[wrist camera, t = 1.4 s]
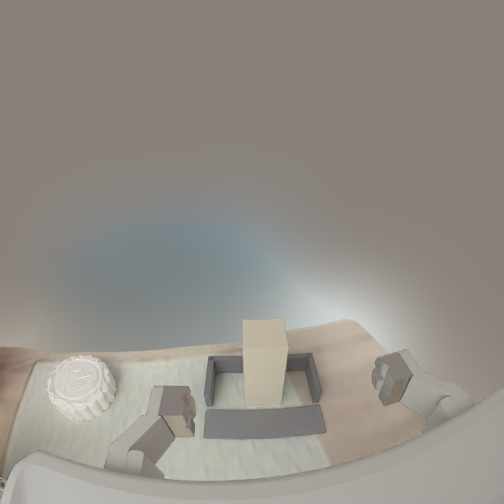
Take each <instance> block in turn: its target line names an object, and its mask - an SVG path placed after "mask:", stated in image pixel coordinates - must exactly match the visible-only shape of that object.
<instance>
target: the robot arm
mask: <svg viewBox="0 0 504 504" xmlns="http://www.w3.org/2000/svg"><path fill="white" fill-rule="evenodd" d="M375 365H376V367H375V369H374V370H373V372H372V383H373V386H374V388H375V389H376V390H378V391H380V393H379V398H380V400H381V402H382V404H383V406H387V405H390V404H393V403H396V402H399V401H400V403H402V404H403V405H404V406H406V407H407V408H409V409H410V410H412V411H413V412H415V413H416V414H418V415H419V416H421V417H422V418H424V419H425V420H427V421H426V423H425V424H424V426H423V427H422V429H421V432H422V435H419V436H417V437H415V438H413V439H411V440H408V441H406V442H404V443H401V444H399V445H396V446H394V447H391V448H389V449H386V450H383V451H380V452H378V453H375V454H372V455H369V456H366V457H363V458H359V459H356V460H353V461H349V462H346V463H342V464H338V465H335V466H331V467H326V468H322V469H318V470H313V471H308V472H303V473H297V474H291V475H285V476H278V477H270V478H261V479H250V480H233V481H188V480H172V479H164V474H163V473H162V472H161V471H160V470H159V469H158V468H157V467H156V466H155V464H156V463H157V461H158V460H159V459H160V458H161V456H162V455H163V454H164V452H165V451H166V450H167V449H168V447H169V446H170V445H171V443H172V442H173V441H174V440H175V437H194V432H195V424H194V422H193V419H194V418H195V417H196V406H195V401H194V398H193V397H192V396H191V395H190V392H191V391H190V388H189V386H154V387H153V388H152V391H151V395H150V400H149V404H148V409H147V413H146V415H142V416H141V417H140V418H139V419H138V420H137V421H136V422H135V423H134V424H133V425H132V426H131V427H130V428H128V429H127V430H126V431H125V432H124V433H123V434H122V435H121V436H120V437H119V438H118V439H116V440H115V441H114V442H113V443H112V444H111V445H110V447H109V451H108V455H107V459H106V463H105V467H104V469H101V468H97V467H93V466H89V465H86V464H82V463H78V462H75V461H72V460H69V459H65V458H62V457H59V456H57V455H54V454H51V453H49V452H46V451H43V450H37V451H35V452H33V453H31V454H29V455H28V456H26V457H25V458H23V459H22V460H20V461H19V462H17V463H16V465H15V466H14V468H13V469H12V471H11V473H10V475H9V478H8V480H6V479H4V478H2V477H0V504H504V385H503V386H502V387H501V388H499V389H498V390H496V391H495V392H494V393H492V394H491V395H490V396H488V397H487V398H485V399H484V400H482V401H481V402H479V403H478V404H476V405H475V404H474V403H473V401H472V400H471V399H470V397H469V396H468V394H467V393H466V392H465V390H464V389H463V388H462V387H460V386H458V385H455V384H453V383H451V382H449V381H447V380H444V379H442V378H440V377H438V376H436V375H433V374H431V373H429V372H427V371H425V372H423V371H422V369H421V368H420V366H419V365H418V364H417V362H416V361H415V359H414V358H413V357H412V355H411V354H410V353H409V351H408V350H406V349H405V350H402V351H399V352H395V353H392V354H388V355H385V356H382V357H378V358H377V359H376V361H375Z"/></svg>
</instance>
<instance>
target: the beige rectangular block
mask: <svg viewBox="0 0 504 504" xmlns="http://www.w3.org/2000/svg"><path fill="white" fill-rule="evenodd" d="M287 355H288V341H287V336H286V331H285V326H284V320H283V319H253V320H243V371H244V395H245V406H269V405H281V402H282V395H283V387H284V379H285V372H286V363H287Z"/></svg>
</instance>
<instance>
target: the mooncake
mask: <svg viewBox="0 0 504 504" xmlns="http://www.w3.org/2000/svg"><path fill="white" fill-rule="evenodd" d="M47 384H48V386H47V388H46V390H47V392H48V393H49V394H48V397H49V399H50V400H51V402H52V403H53V404H54V405H55V407H56V408H57V409H58V410H59V412H60V413H61V414H62V415H64V416H67V417H68V418H69V419H71V420H73V419H77V420H78V421H83V420H85V419H87V420H91V419H93V418H94V417H95V416H100V415H102V414H103V412H104V410H107V409H108V408H109V407H110V402H112V401H114V399H115V395H114V394H115V392H116V387H115V380H114V378H113V376H112V374H111V372H110V370H109V369H108V366H107V364H106V363H105V362H102V361H101V359H100V358H97V357H96V358H94V357H93V356H92V355H87V356H85V355H79V356H78V357H76V356H72V357H70V358H69V359H65V360H63V361H62V363H61V364H58V365H56V367H55V370H53V371H52V372H51V373H50V377H49V378H48V380H47Z"/></svg>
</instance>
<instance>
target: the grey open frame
mask: <svg viewBox="0 0 504 504" xmlns="http://www.w3.org/2000/svg"><path fill="white" fill-rule="evenodd" d="M293 370H306V375H307V379H308V383H309V388H310V392H311V397H312V401H313V402H318V401H319V398H320V394H321V391H322V389H321V385H320V381H319V377H318V373H317V370H316V366H315V362H314V359H313V355H312V353H303V354H288V355H287V363H286V371H293ZM215 372H216V373H244V371H243V356H209V358H208V366H207V374H206V382H205V391H204V396H205V401H206V405H207V406H213V395H214V383H215ZM325 432H326V431H325V426H324V422H323V418H322V413H321V409H320V405H316V406H307V407H297V408H284V409H267V410H206V416H205V426H204V438H213V439H264V438H281V437H293V436H303V435H311V434H319V433H325Z"/></svg>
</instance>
